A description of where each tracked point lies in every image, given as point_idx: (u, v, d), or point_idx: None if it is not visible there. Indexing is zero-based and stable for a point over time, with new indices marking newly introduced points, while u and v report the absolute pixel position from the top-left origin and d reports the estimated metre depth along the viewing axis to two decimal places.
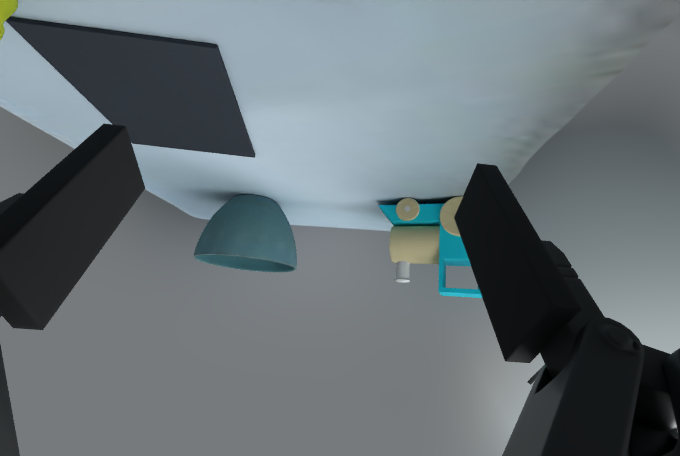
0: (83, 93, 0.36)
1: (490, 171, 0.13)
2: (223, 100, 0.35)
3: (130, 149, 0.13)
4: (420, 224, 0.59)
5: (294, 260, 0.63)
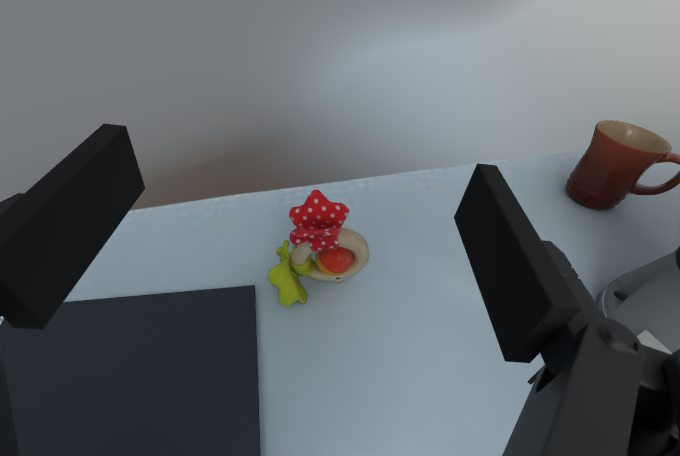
0: (150, 297, 0.32)
1: (490, 171, 0.13)
2: None
3: (130, 149, 0.13)
4: None
5: None
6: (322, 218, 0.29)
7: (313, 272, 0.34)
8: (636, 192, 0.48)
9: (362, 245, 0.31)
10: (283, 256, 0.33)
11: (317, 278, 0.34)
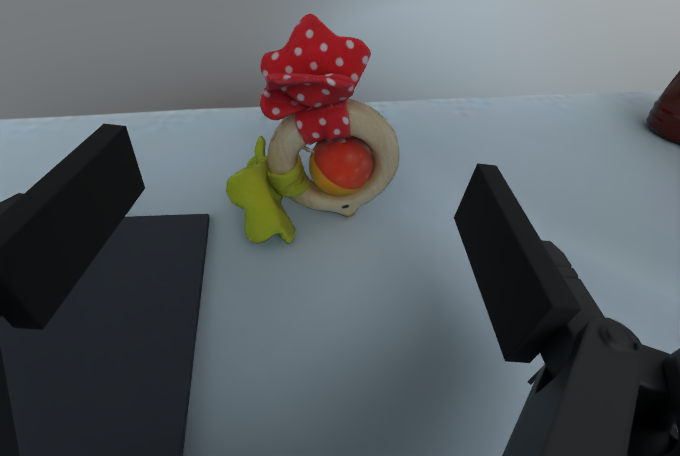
0: None
1: (490, 171, 0.13)
2: None
3: (130, 149, 0.13)
4: None
5: None
6: (321, 69, 0.16)
7: (305, 191, 0.20)
8: None
9: (390, 134, 0.18)
10: (255, 163, 0.20)
11: (312, 205, 0.21)
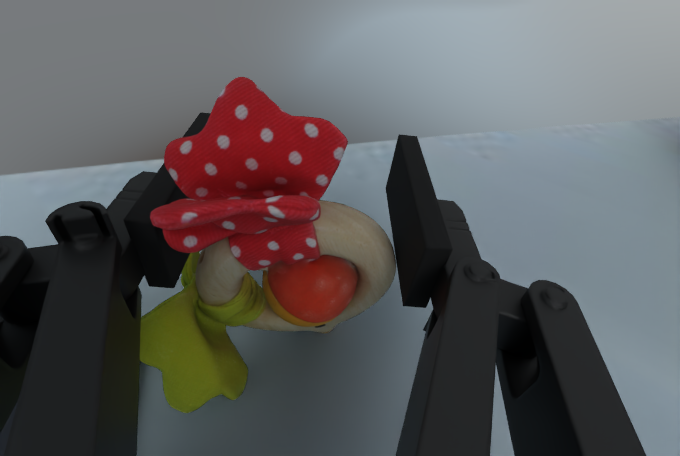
0: None
1: (409, 141, 0.14)
2: None
3: None
4: None
5: None
6: (264, 168, 0.09)
7: (259, 316, 0.14)
8: None
9: (382, 248, 0.12)
10: (183, 281, 0.13)
11: (272, 328, 0.15)
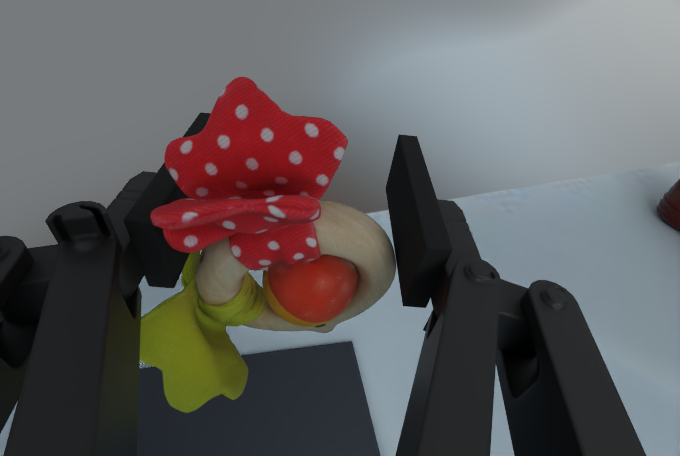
0: None
1: (409, 141, 0.14)
2: None
3: None
4: None
5: None
6: (265, 168, 0.09)
7: (259, 316, 0.14)
8: None
9: (382, 248, 0.12)
10: (183, 280, 0.13)
11: (272, 328, 0.15)
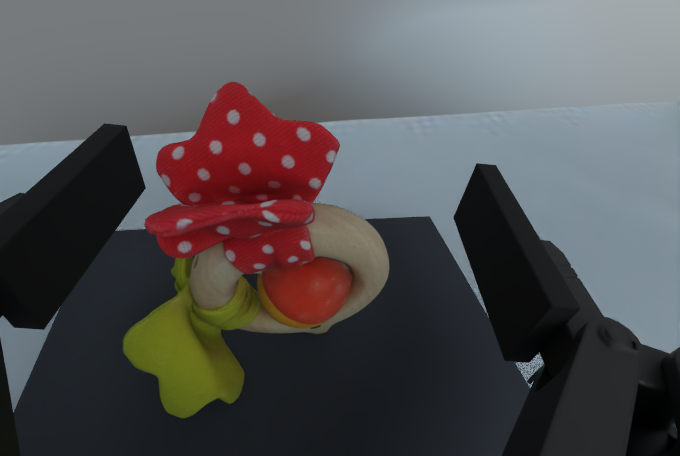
0: None
1: (490, 171, 0.13)
2: None
3: (131, 149, 0.13)
4: None
5: None
6: (257, 173, 0.09)
7: (255, 319, 0.14)
8: None
9: (375, 248, 0.12)
10: (176, 286, 0.13)
11: (267, 331, 0.15)
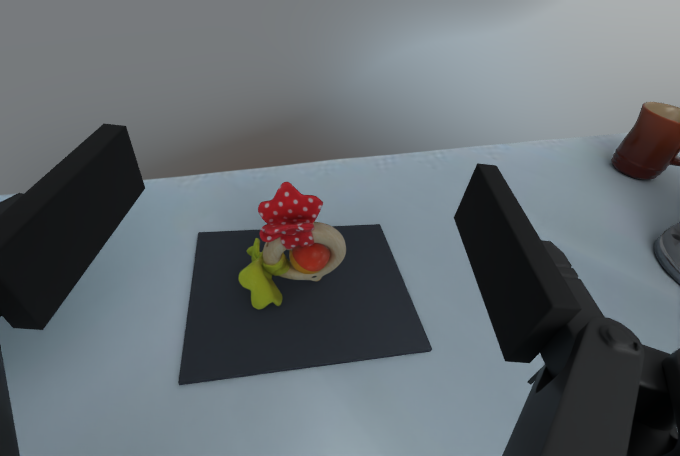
0: None
1: (490, 171, 0.13)
2: (346, 346, 0.29)
3: (130, 149, 0.13)
4: None
5: None
6: (294, 212, 0.27)
7: (287, 271, 0.32)
8: (676, 163, 0.56)
9: (338, 239, 0.29)
10: (254, 256, 0.31)
11: (292, 277, 0.32)
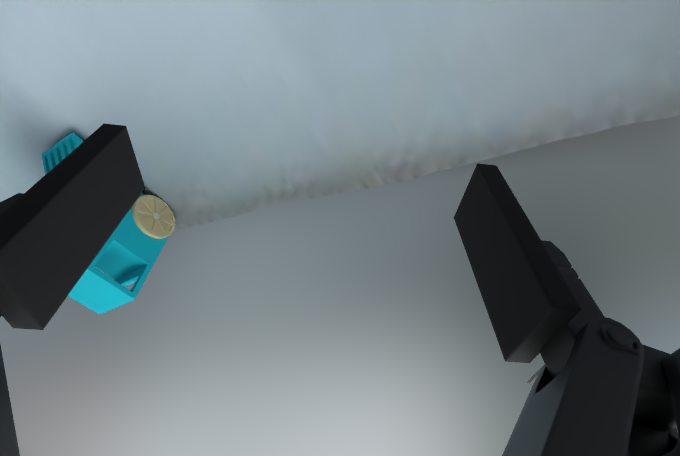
0: None
1: (490, 171, 0.13)
2: None
3: (130, 149, 0.13)
4: None
5: None
6: None
7: None
8: None
9: None
10: None
11: None
